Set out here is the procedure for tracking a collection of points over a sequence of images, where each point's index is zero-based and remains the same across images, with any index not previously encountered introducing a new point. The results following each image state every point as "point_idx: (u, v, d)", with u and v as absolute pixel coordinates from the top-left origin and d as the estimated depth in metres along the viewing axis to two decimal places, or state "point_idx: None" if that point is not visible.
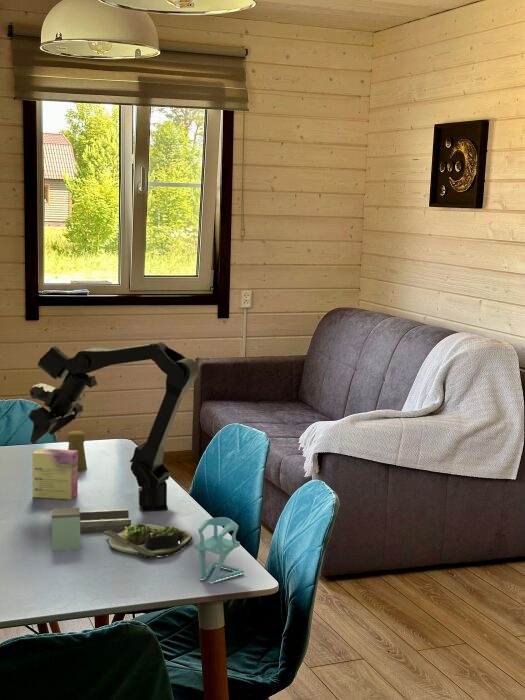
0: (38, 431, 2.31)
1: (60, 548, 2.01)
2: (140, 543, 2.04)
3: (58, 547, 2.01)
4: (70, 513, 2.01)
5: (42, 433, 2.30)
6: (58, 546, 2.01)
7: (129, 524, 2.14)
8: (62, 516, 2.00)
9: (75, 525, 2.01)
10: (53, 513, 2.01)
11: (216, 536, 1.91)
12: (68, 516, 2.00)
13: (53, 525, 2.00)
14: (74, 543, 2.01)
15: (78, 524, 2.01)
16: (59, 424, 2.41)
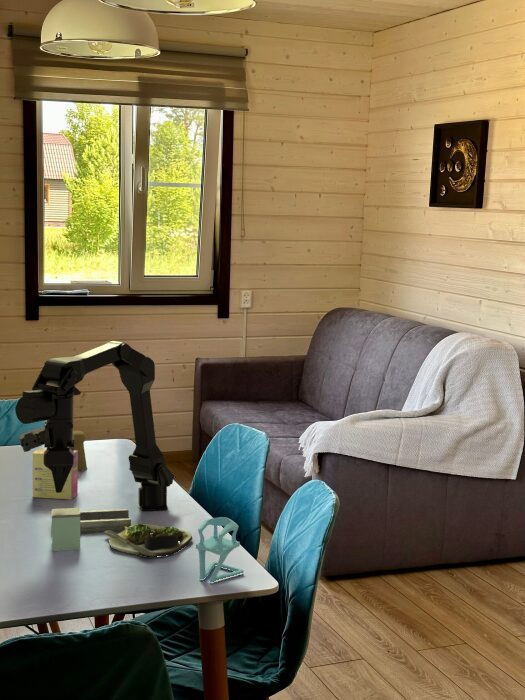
0: (60, 475, 1.96)
1: (60, 548, 2.01)
2: (140, 543, 2.04)
3: (58, 547, 2.01)
4: (70, 513, 2.01)
5: (66, 473, 1.96)
6: (58, 546, 2.01)
7: (129, 524, 2.14)
8: (62, 516, 2.00)
9: (75, 525, 2.01)
10: (53, 513, 2.01)
11: (216, 536, 1.91)
12: (68, 516, 2.00)
13: (53, 525, 2.00)
14: (75, 543, 2.01)
15: (78, 524, 2.01)
16: None
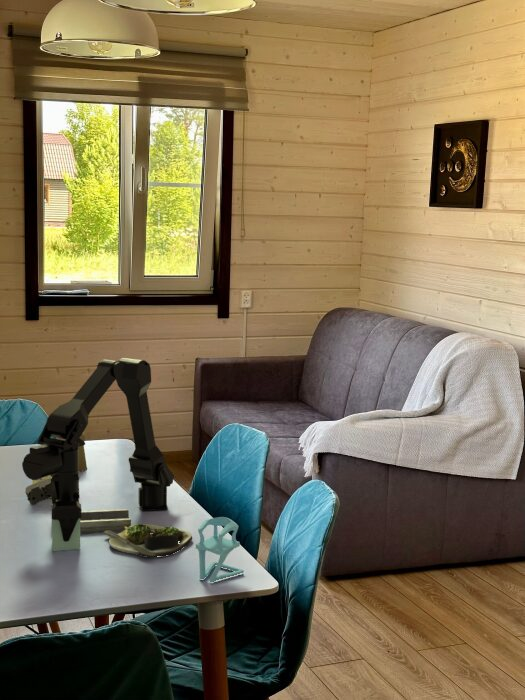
0: (67, 524, 1.99)
1: (60, 548, 2.01)
2: (140, 543, 2.04)
3: (58, 547, 2.01)
4: None
5: (73, 523, 1.99)
6: (58, 546, 2.01)
7: (129, 524, 2.14)
8: None
9: (75, 525, 2.01)
10: None
11: (216, 536, 1.91)
12: None
13: (53, 525, 2.00)
14: (75, 542, 2.01)
15: (78, 524, 2.01)
16: None
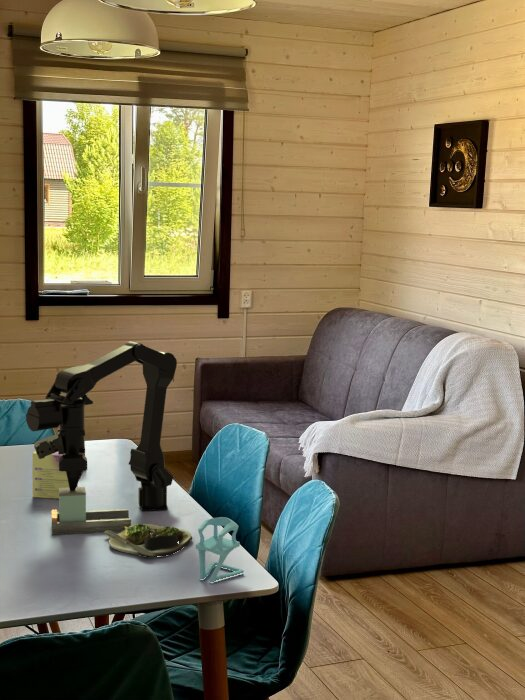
0: (73, 474, 2.12)
1: None
2: (140, 543, 2.04)
3: None
4: (76, 491, 2.13)
5: (79, 473, 2.12)
6: None
7: (129, 524, 2.14)
8: (69, 494, 2.12)
9: (81, 503, 2.12)
10: (60, 491, 2.12)
11: (216, 536, 1.91)
12: (74, 494, 2.12)
13: (60, 503, 2.11)
14: (80, 519, 2.13)
15: (84, 502, 2.13)
16: None
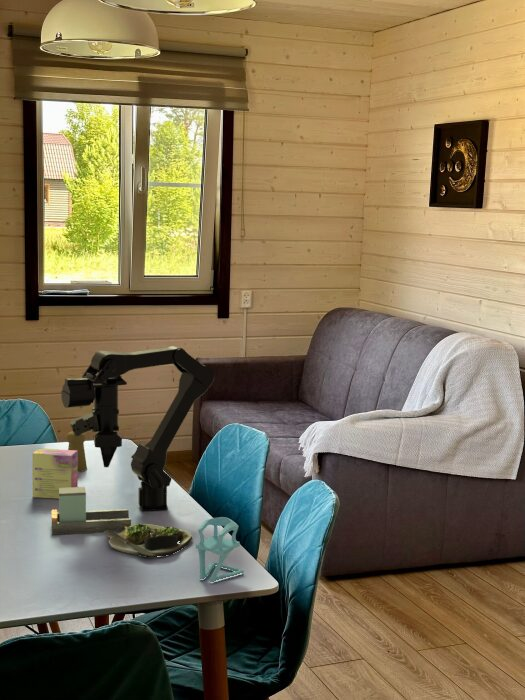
0: (107, 451, 2.21)
1: None
2: (140, 543, 2.04)
3: None
4: (76, 491, 2.13)
5: (113, 450, 2.21)
6: None
7: (129, 524, 2.14)
8: (69, 494, 2.12)
9: (81, 503, 2.12)
10: (60, 491, 2.12)
11: (216, 536, 1.91)
12: (74, 494, 2.12)
13: (60, 503, 2.11)
14: (80, 519, 2.13)
15: (84, 502, 2.13)
16: None
